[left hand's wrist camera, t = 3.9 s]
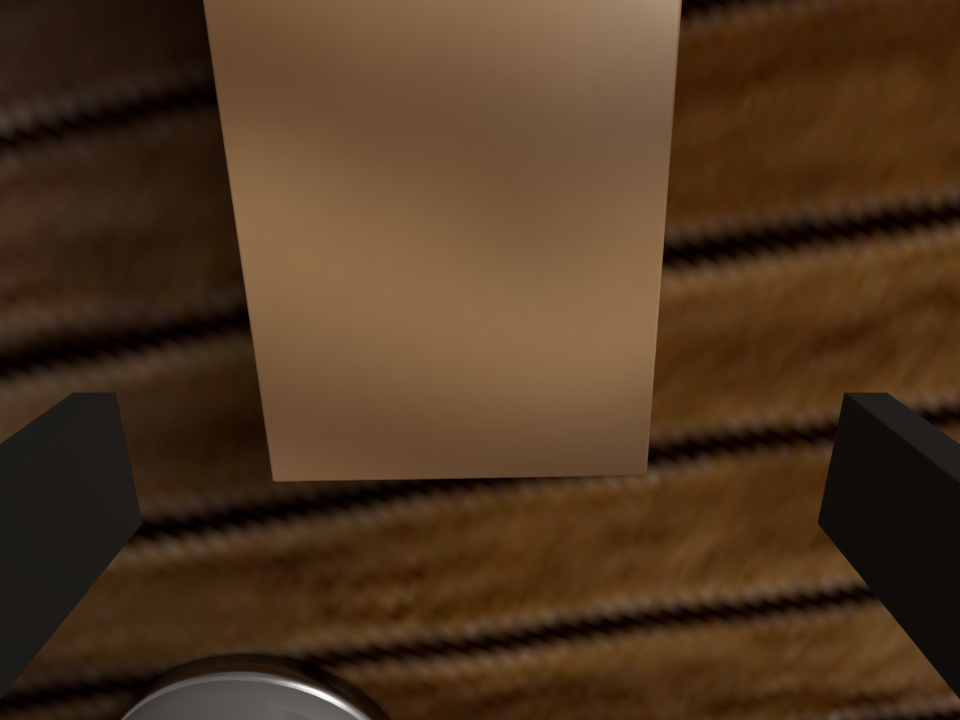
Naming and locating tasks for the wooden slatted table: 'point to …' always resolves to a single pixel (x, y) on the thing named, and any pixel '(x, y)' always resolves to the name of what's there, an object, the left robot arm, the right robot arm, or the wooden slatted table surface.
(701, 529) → the wooden slatted table surface
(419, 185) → the cabinet
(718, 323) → the wooden slatted table surface
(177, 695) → the left robot arm
